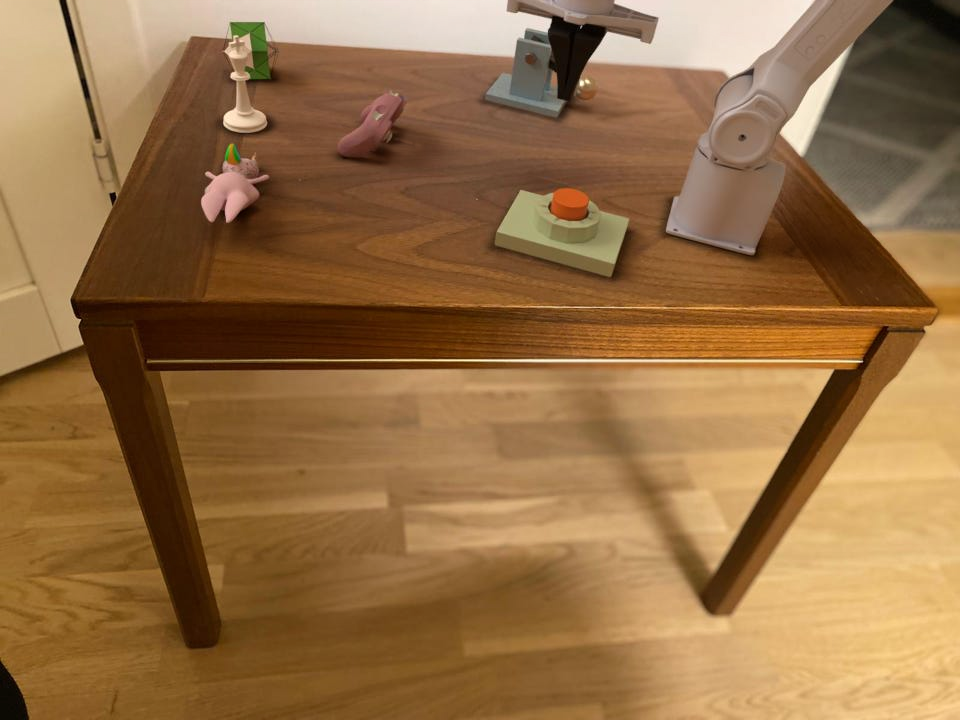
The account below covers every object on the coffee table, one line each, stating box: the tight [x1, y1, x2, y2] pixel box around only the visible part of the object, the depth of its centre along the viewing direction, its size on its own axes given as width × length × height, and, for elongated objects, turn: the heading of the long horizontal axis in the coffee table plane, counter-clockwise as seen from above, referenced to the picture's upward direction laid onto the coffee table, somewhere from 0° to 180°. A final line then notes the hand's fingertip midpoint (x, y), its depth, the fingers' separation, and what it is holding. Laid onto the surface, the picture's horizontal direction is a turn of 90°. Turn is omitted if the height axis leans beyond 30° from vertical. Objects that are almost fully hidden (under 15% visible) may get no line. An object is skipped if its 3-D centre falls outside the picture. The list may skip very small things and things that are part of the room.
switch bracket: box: [484, 27, 568, 118], centre depth 98 cm, size 10×8×8 cm
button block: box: [494, 189, 630, 278], centre depth 76 cm, size 12×9×4 cm
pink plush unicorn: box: [200, 143, 270, 224], centre depth 73 cm, size 6×6×15 cm
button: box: [550, 187, 590, 221], centre depth 74 cm, size 4×4×2 cm
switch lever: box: [530, 35, 598, 101], centre depth 97 cm, size 11×3×3 cm, turn 72°
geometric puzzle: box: [221, 21, 280, 80], centre depth 94 cm, size 7×7×8 cm
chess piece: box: [222, 35, 268, 134], centre depth 84 cm, size 5×5×10 cm
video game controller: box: [337, 89, 408, 158], centre depth 85 cm, size 10×5×7 cm, turn 168°
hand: (565, 96), depth 77 cm, fingers closed
